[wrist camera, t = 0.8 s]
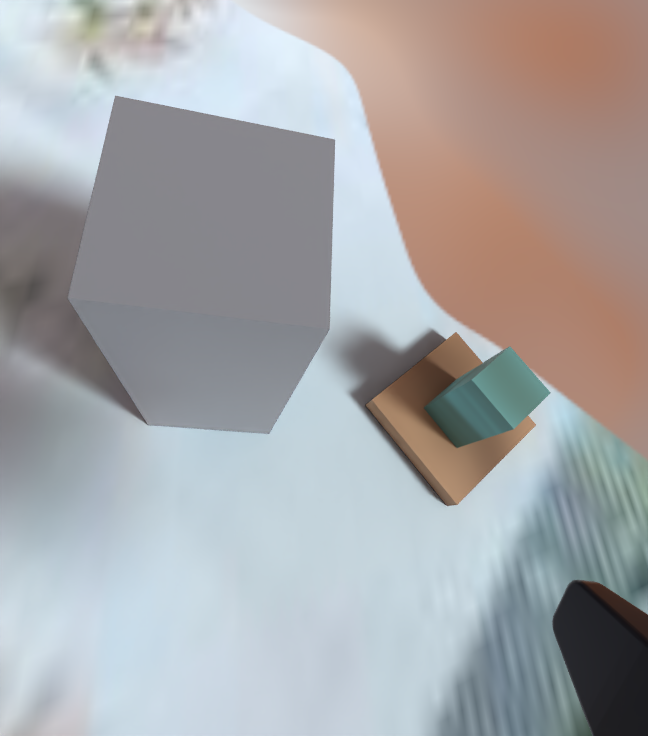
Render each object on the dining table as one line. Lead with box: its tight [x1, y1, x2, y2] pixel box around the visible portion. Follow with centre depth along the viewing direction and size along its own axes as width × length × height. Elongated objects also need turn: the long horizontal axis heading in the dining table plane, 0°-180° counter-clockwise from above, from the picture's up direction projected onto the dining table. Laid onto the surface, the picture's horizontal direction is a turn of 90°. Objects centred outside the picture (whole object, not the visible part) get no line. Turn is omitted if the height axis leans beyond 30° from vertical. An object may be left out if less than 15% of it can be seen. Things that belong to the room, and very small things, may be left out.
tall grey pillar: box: [68, 96, 335, 434], centre depth 16 cm, size 5×5×12 cm
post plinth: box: [366, 332, 550, 506], centre depth 21 cm, size 6×6×6 cm
